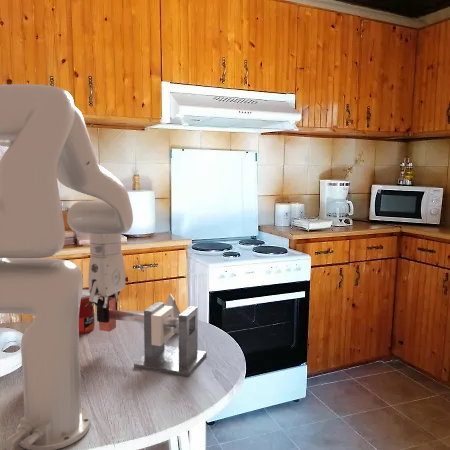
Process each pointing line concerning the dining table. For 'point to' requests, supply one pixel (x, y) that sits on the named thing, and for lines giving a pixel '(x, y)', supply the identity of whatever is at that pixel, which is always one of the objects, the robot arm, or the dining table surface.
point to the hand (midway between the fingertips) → (107, 318)
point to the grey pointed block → (175, 309)
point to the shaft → (129, 317)
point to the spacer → (161, 326)
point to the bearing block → (168, 355)
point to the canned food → (86, 313)
